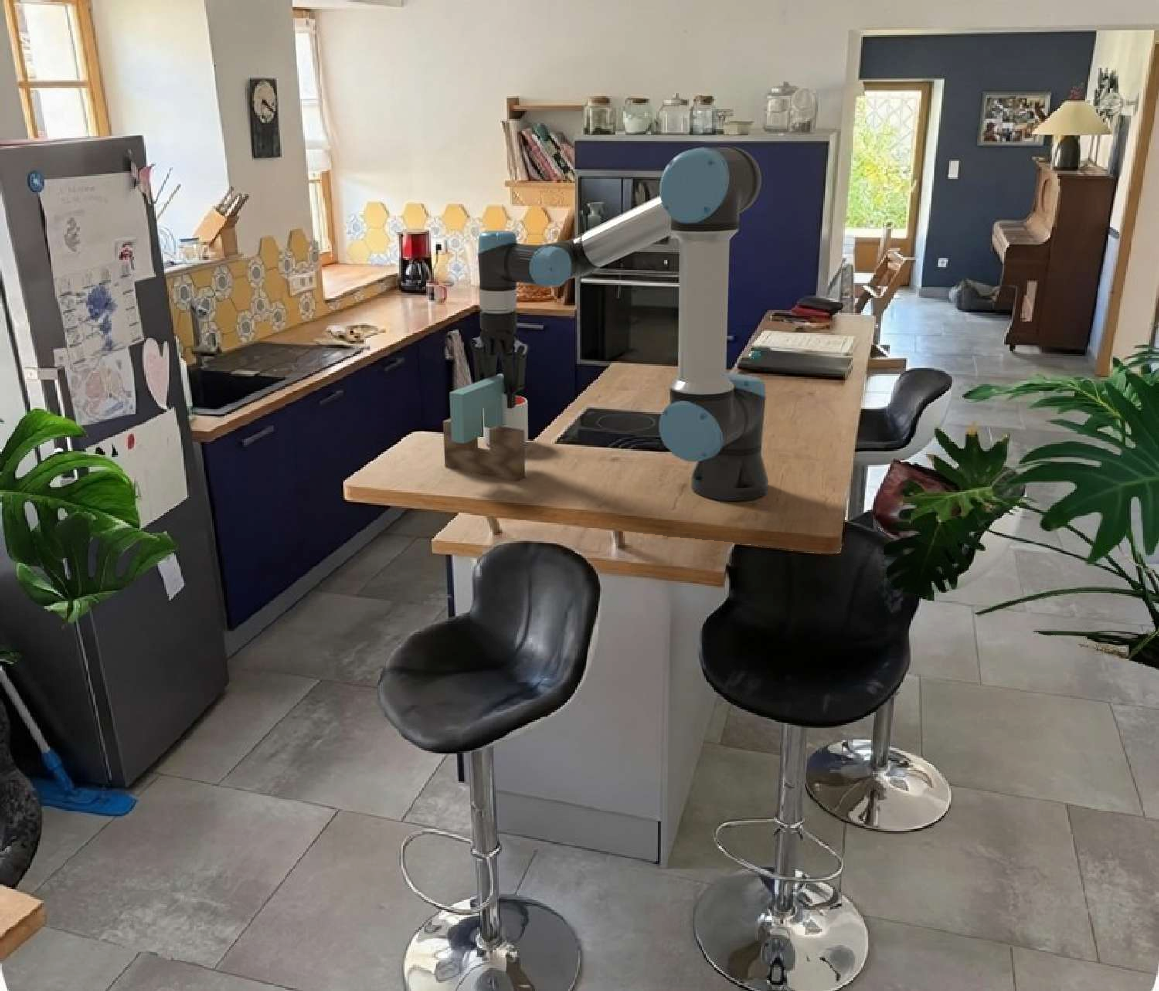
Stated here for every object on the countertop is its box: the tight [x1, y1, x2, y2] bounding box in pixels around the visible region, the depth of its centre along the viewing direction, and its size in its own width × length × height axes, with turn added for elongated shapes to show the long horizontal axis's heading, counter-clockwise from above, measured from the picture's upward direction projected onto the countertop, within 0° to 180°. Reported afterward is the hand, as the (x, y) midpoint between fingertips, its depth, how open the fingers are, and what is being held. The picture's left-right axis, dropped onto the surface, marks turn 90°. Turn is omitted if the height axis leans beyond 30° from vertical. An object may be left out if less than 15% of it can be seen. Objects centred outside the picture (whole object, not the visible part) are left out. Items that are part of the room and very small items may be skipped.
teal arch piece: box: [449, 373, 513, 444], centre depth 208 cm, size 18×3×10 cm, turn 151°
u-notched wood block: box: [442, 417, 526, 482], centre depth 211 cm, size 18×3×10 cm, turn 61°
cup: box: [482, 395, 529, 447], centre depth 230 cm, size 10×10×10 cm
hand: (500, 421), depth 215 cm, fingers closed on teal arch piece, 3 cm apart
